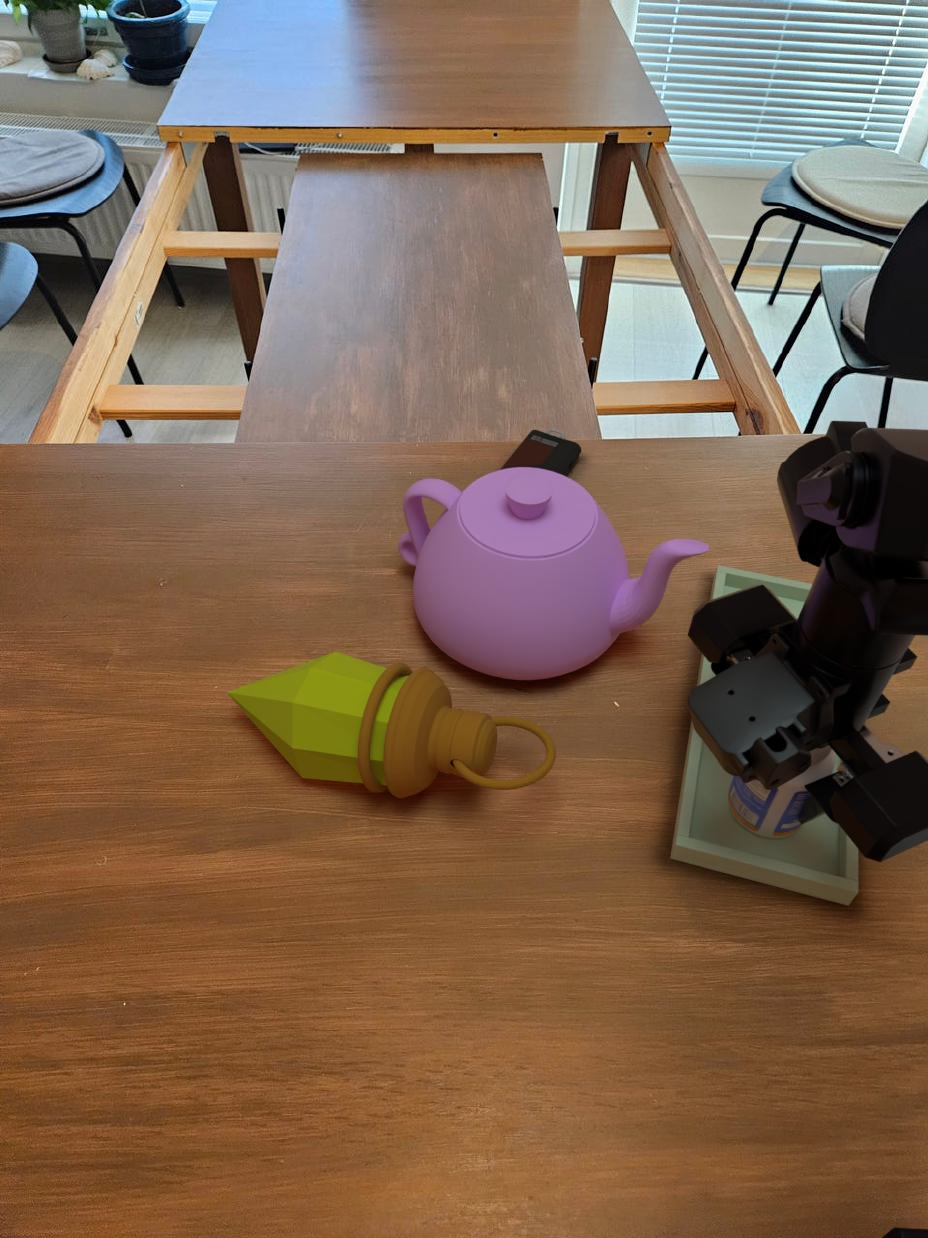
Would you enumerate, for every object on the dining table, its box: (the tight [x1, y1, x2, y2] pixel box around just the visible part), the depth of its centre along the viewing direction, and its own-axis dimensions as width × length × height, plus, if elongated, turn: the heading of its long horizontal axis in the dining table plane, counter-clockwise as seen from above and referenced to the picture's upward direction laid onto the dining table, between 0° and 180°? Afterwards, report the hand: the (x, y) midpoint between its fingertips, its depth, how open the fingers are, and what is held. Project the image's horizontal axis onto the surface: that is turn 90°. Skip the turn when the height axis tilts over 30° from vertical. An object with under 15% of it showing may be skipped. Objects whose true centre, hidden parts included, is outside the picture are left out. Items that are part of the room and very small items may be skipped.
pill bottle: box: [728, 745, 835, 839], centre depth 59 cm, size 5×5×10 cm
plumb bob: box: [226, 651, 557, 799], centre depth 62 cm, size 9×9×25 cm
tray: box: [669, 564, 859, 906], centre depth 67 cm, size 28×12×2 cm, turn 163°
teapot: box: [397, 467, 710, 681], centre depth 70 cm, size 25×18×14 cm
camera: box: [499, 427, 582, 477], centre depth 86 cm, size 6×3×11 cm
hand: (776, 783), depth 60 cm, fingers open, 6 cm apart
